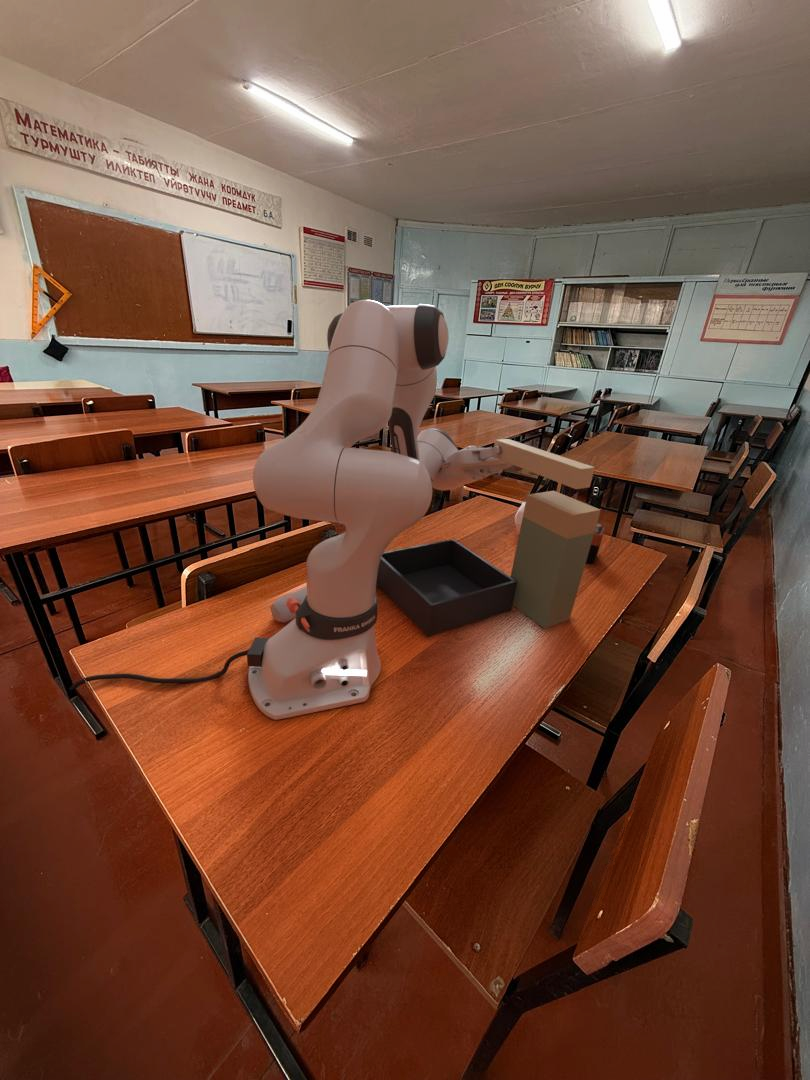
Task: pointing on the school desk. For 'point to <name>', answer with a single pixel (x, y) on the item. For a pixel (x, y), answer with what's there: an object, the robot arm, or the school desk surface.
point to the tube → (280, 608)
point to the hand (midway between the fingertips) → (508, 448)
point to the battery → (595, 544)
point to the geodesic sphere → (519, 517)
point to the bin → (444, 585)
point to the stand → (551, 555)
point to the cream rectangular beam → (545, 464)
